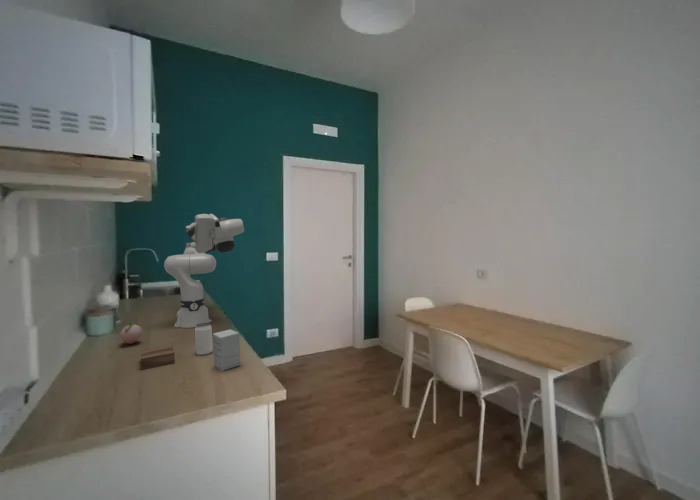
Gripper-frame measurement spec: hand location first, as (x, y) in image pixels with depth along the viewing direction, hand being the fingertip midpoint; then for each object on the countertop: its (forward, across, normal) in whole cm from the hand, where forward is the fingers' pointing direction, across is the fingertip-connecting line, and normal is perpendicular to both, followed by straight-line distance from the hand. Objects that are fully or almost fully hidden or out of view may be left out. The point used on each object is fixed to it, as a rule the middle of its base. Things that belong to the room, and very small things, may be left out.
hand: (186, 237), depth 155 cm
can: (+13, -30, +44) cm, 54 cm away
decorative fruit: (+30, -45, +10) cm, 55 cm away
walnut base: (+29, -29, +38) cm, 56 cm away
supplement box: (+14, -19, +62) cm, 66 cm away
